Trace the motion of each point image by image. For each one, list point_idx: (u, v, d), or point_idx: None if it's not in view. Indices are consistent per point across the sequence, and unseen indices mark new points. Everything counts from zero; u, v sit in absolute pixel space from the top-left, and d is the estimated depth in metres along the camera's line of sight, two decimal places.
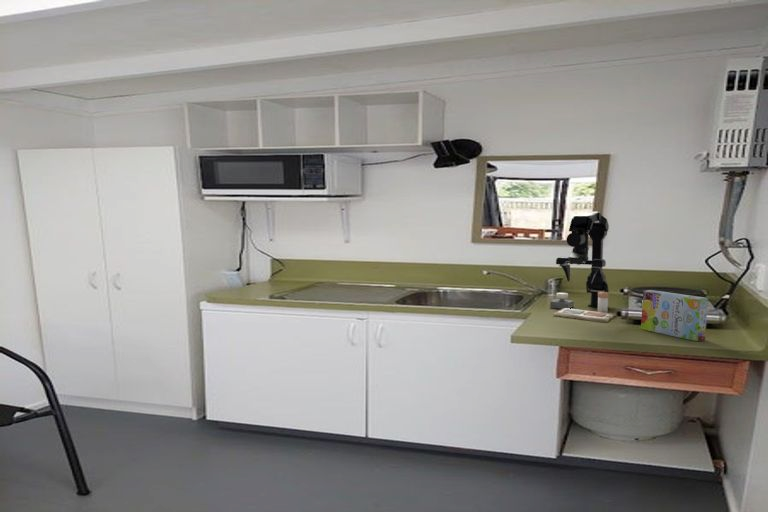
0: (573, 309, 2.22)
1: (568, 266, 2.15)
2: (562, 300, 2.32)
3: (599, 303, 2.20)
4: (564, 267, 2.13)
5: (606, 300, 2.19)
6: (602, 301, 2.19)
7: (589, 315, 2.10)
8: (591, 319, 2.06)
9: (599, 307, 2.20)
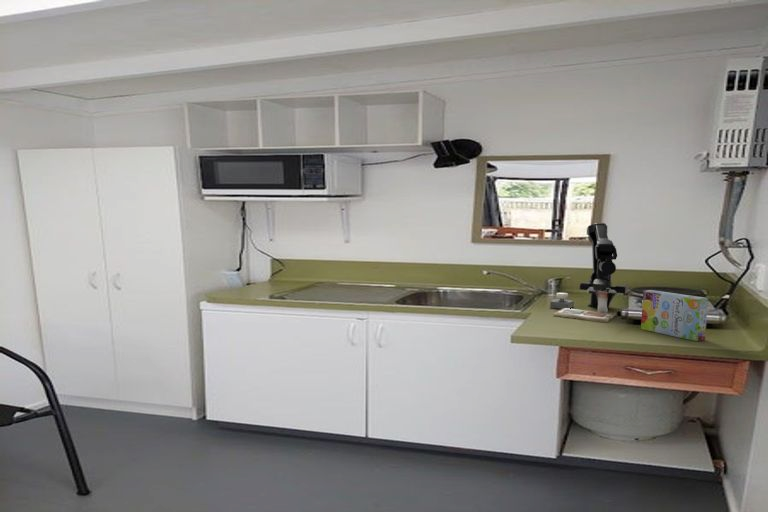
0: (573, 309, 2.22)
1: (596, 292, 2.22)
2: (562, 300, 2.32)
3: (599, 303, 2.20)
4: (593, 293, 2.21)
5: (606, 300, 2.19)
6: (602, 301, 2.19)
7: (589, 315, 2.10)
8: (591, 319, 2.06)
9: (599, 307, 2.20)
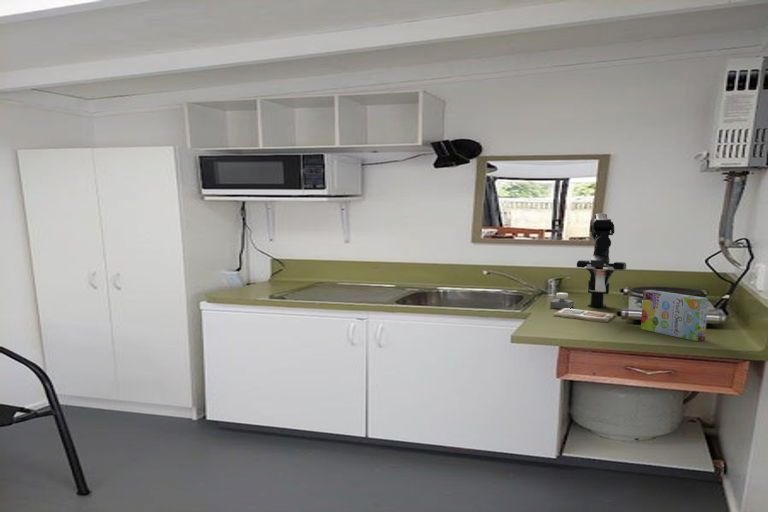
0: (573, 309, 2.22)
1: (594, 270, 2.16)
2: (562, 300, 2.32)
3: (597, 281, 2.14)
4: (591, 270, 2.15)
5: (604, 278, 2.13)
6: (599, 278, 2.13)
7: (589, 315, 2.10)
8: (591, 319, 2.06)
9: (597, 285, 2.14)
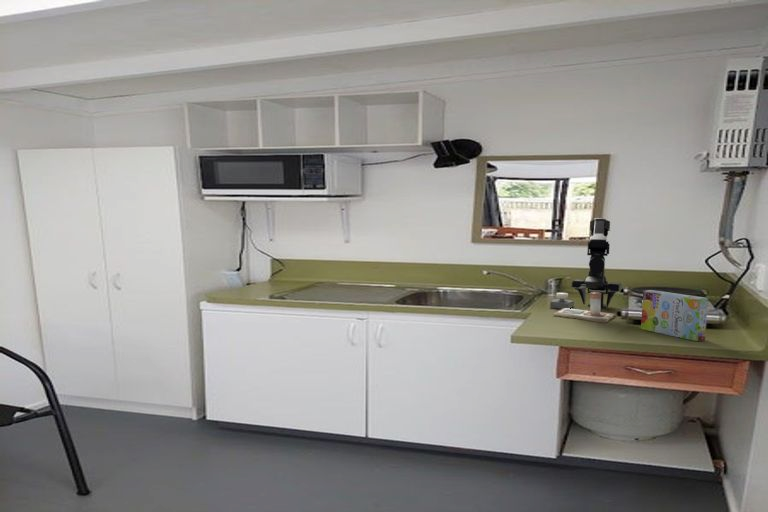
0: (573, 309, 2.22)
1: (583, 289, 2.14)
2: (562, 300, 2.32)
3: (591, 304, 2.11)
4: (580, 290, 2.13)
5: (599, 301, 2.10)
6: (594, 302, 2.10)
7: (589, 315, 2.10)
8: (591, 319, 2.06)
9: (592, 308, 2.11)
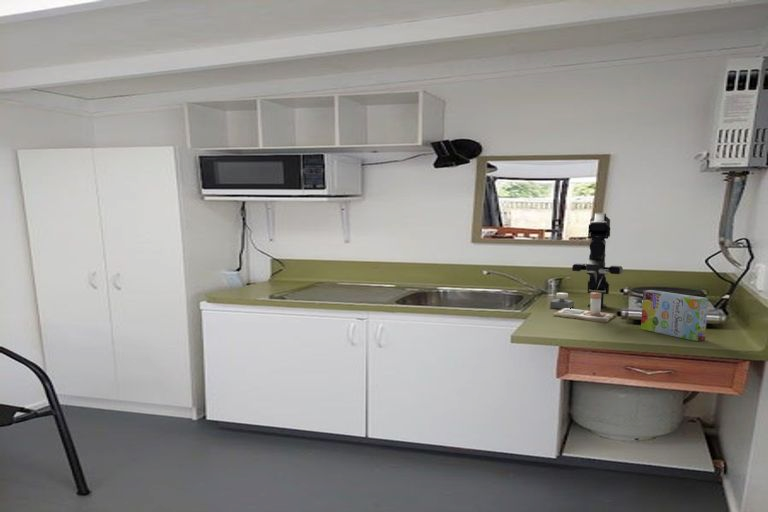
0: (573, 309, 2.22)
1: (595, 274, 2.11)
2: (562, 300, 2.32)
3: (592, 304, 2.11)
4: (591, 275, 2.09)
5: (599, 301, 2.10)
6: (594, 302, 2.10)
7: (589, 315, 2.10)
8: (591, 319, 2.06)
9: (592, 308, 2.11)
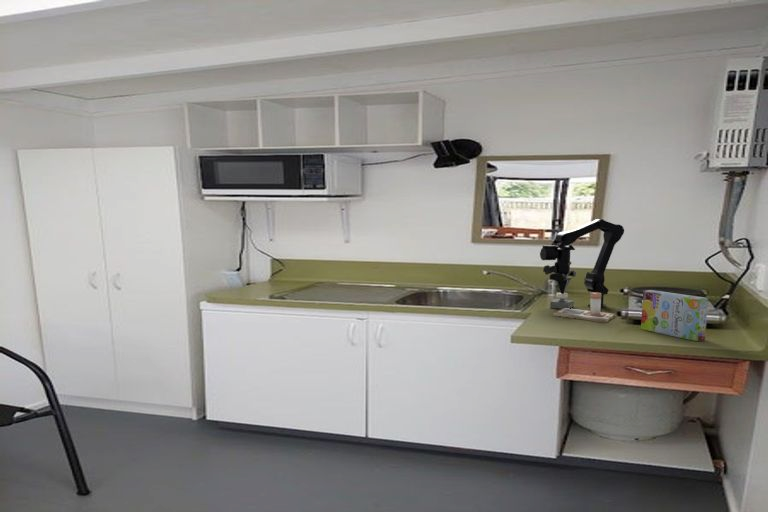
0: (573, 309, 2.22)
1: None
2: (562, 300, 2.32)
3: (592, 304, 2.11)
4: None
5: (599, 301, 2.10)
6: (594, 302, 2.10)
7: (589, 315, 2.10)
8: (591, 319, 2.06)
9: (592, 308, 2.11)
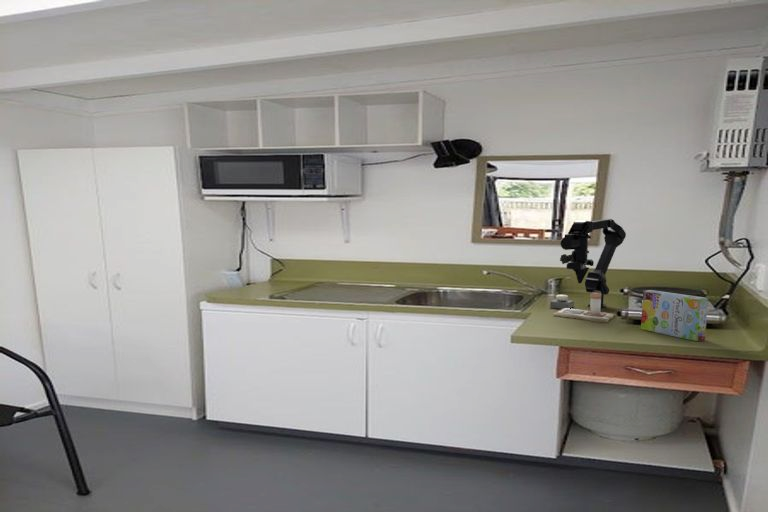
0: (573, 309, 2.22)
1: None
2: None
3: (592, 304, 2.11)
4: None
5: (599, 301, 2.10)
6: (594, 302, 2.10)
7: (589, 315, 2.10)
8: (591, 319, 2.06)
9: (592, 308, 2.11)
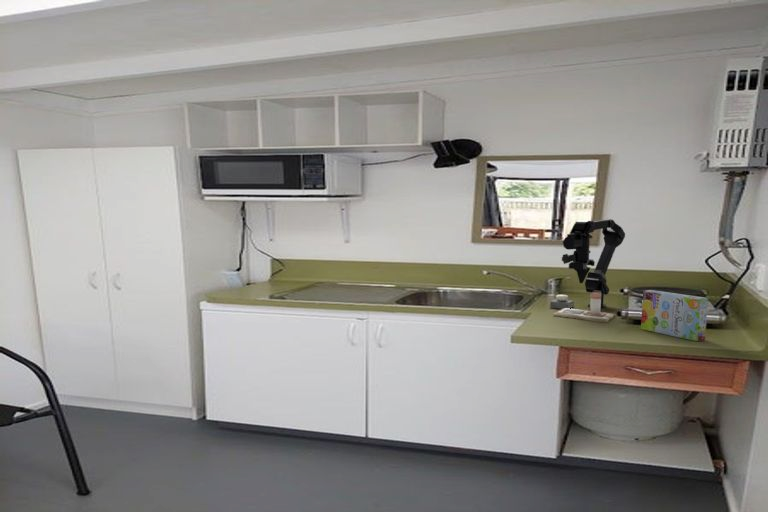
0: (573, 309, 2.22)
1: None
2: None
3: (592, 304, 2.11)
4: None
5: (599, 301, 2.10)
6: (594, 302, 2.10)
7: (589, 315, 2.10)
8: (591, 319, 2.06)
9: (592, 308, 2.11)
